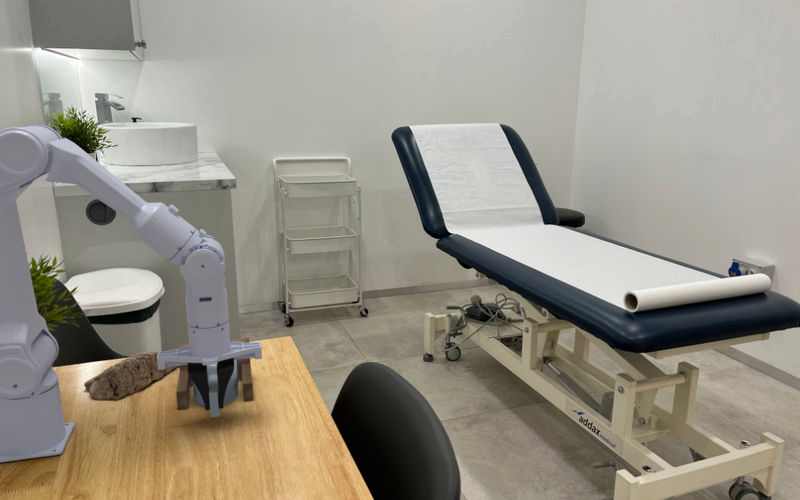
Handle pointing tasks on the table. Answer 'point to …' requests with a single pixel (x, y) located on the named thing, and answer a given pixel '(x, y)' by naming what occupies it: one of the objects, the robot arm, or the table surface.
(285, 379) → the table surface
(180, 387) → the caddy
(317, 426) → the table surface
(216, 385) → the finned dome knob
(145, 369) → the rock
